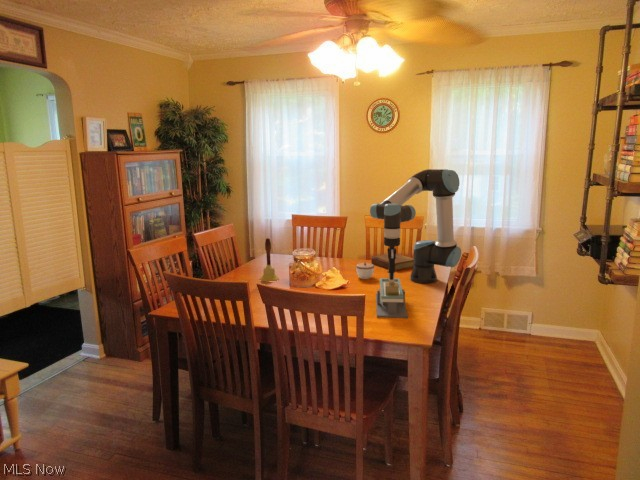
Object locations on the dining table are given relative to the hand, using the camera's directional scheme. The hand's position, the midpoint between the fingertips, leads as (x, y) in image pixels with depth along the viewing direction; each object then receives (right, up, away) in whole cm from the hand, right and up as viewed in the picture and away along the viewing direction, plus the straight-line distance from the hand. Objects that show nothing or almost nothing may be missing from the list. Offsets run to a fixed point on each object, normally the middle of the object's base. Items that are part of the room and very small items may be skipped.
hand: (391, 285), depth 218 cm
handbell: (-64, -2, +56) cm, 85 cm away
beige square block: (0, -4, -3) cm, 5 cm away
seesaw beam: (+1, -4, +5) cm, 6 cm away
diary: (+14, +4, +83) cm, 84 cm away
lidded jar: (-7, -1, +56) cm, 56 cm away
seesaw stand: (+1, -11, +6) cm, 12 cm away
